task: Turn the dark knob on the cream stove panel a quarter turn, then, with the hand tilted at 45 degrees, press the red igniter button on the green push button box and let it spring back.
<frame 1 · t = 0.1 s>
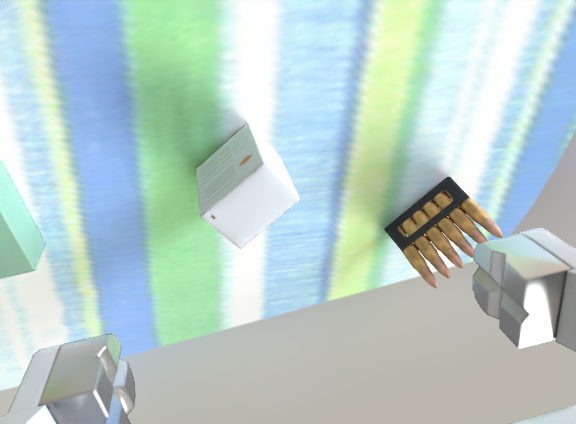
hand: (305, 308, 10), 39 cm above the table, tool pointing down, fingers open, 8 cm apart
ammunition clip: (418, 206, 59), on the table
small box: (237, 160, 51), on the table
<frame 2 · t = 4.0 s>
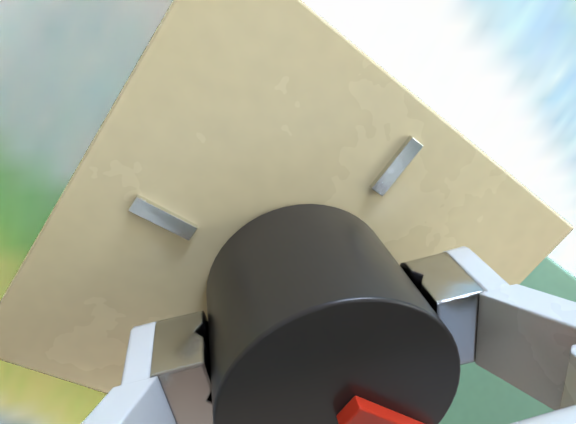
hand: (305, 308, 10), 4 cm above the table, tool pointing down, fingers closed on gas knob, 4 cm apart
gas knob: (319, 340, 9), point 5 cm above the table, hinge at 0.0°, touching gripper
green push button box: (538, 398, 20), on the table
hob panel: (277, 227, 13), on the table
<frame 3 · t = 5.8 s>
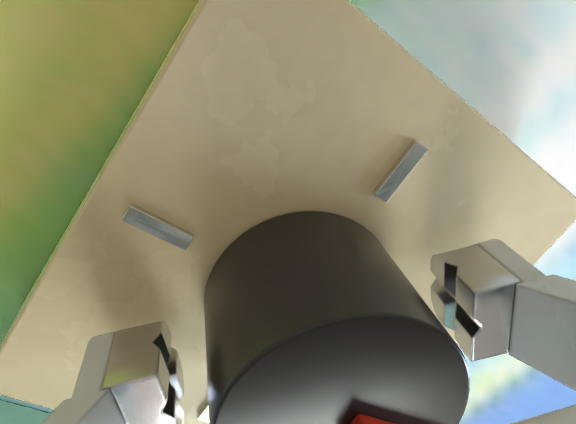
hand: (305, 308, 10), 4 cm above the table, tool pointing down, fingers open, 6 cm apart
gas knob: (321, 353, 9), point 5 cm above the table, hinge at 95.3°
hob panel: (277, 233, 13), on the table
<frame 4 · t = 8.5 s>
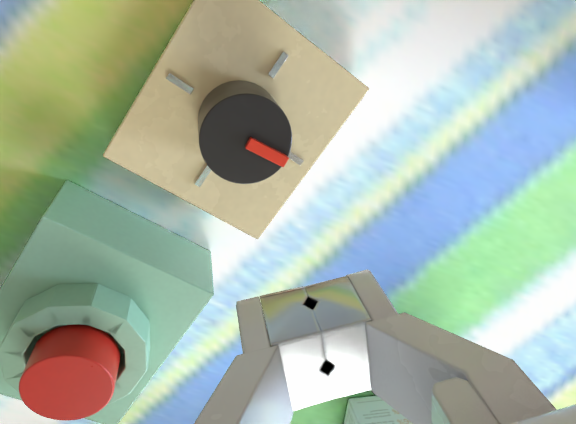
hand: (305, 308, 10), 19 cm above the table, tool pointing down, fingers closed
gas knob: (243, 131, 22), point 5 cm above the table, hinge at 95.3°
igniter button: (72, 372, 23), point 8 cm above the table, slide at 0.1 cm
green push button box: (99, 286, 30), on the table
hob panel: (234, 109, 27), on the table
small box: (382, 412, 42), on the table
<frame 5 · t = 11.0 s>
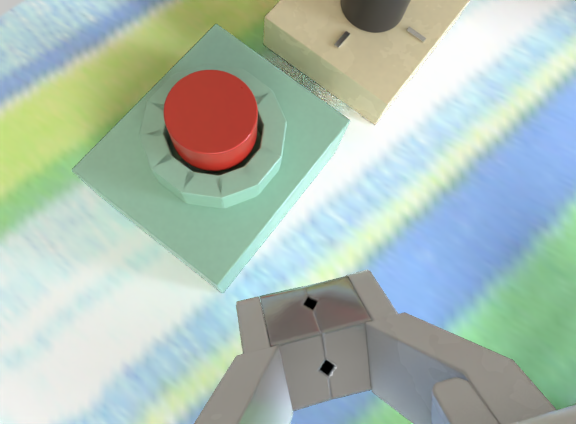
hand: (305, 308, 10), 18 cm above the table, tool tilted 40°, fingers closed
igniter button: (212, 121, 22), point 8 cm above the table, slide at 0.1 cm
green push button box: (221, 174, 30), on the table
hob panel: (361, 33, 33), on the table
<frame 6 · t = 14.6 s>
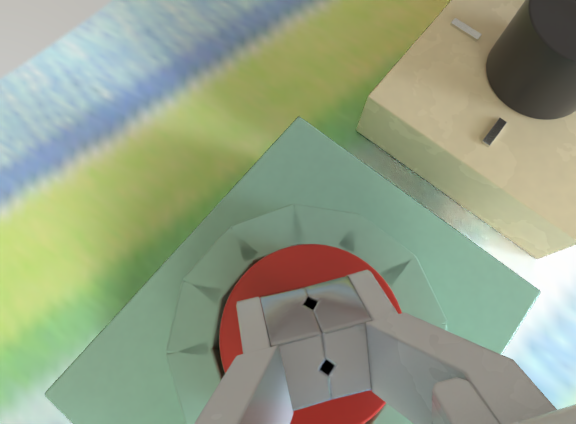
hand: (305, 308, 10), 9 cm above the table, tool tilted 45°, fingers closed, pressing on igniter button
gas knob: (563, 45, 17), point 5 cm above the table, hinge at 95.3°
igniter button: (309, 337, 12), point 7 cm above the table, slide at -0.4 cm, touching gripper
green push button box: (296, 345, 18), on the table
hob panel: (502, 111, 22), on the table
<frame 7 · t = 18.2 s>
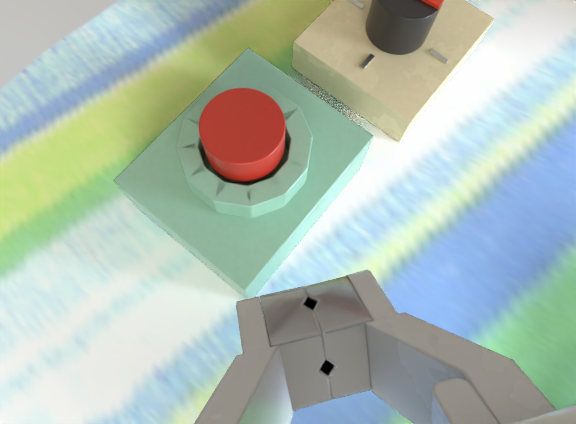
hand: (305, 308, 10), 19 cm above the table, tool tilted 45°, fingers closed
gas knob: (403, 9, 30), point 5 cm above the table, hinge at 95.3°
igniter button: (243, 135, 24), point 8 cm above the table, slide at 0.1 cm
green push button box: (251, 188, 31), on the table
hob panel: (386, 56, 35), on the table
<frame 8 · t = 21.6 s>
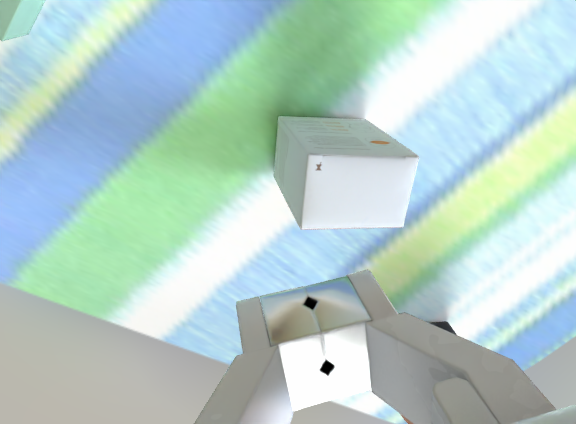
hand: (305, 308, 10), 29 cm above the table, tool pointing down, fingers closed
small box: (318, 146, 40), on the table
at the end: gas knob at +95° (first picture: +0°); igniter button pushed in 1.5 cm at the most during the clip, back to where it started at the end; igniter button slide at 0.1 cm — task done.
